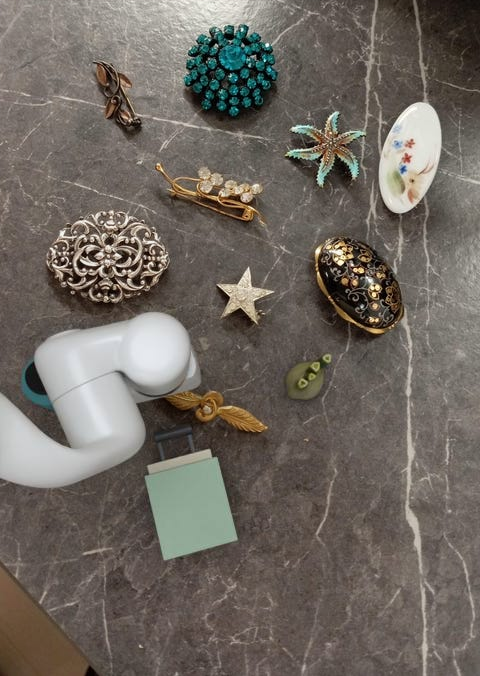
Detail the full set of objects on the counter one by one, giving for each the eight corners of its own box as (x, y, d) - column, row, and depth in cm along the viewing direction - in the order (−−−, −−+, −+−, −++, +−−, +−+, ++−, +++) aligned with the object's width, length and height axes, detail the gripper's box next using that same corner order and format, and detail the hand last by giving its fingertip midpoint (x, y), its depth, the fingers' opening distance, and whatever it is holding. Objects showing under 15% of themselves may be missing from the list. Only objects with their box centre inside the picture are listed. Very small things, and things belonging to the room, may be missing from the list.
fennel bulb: (316, 359, 126) (330, 347, 114) (328, 393, 125) (343, 384, 113) (277, 372, 125) (287, 361, 113) (288, 406, 124) (299, 398, 112)
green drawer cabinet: (147, 476, 121) (144, 476, 112) (215, 458, 122) (217, 456, 114) (165, 555, 118) (163, 560, 110) (234, 536, 119) (238, 540, 111)
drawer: (142, 437, 121) (140, 434, 115) (201, 421, 122) (202, 418, 115) (165, 537, 118) (164, 540, 112) (226, 520, 119) (228, 523, 112)
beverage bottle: (97, 380, 123) (81, 362, 104) (72, 424, 122) (51, 414, 102) (55, 358, 124) (31, 335, 104) (30, 401, 122) (1, 386, 103)
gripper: (96, 412, 99) (107, 423, 116) (228, 379, 100) (220, 396, 118) (82, 346, 100) (95, 367, 118) (212, 315, 102) (206, 340, 120)
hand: (157, 381), depth 118 cm, fingers closed
